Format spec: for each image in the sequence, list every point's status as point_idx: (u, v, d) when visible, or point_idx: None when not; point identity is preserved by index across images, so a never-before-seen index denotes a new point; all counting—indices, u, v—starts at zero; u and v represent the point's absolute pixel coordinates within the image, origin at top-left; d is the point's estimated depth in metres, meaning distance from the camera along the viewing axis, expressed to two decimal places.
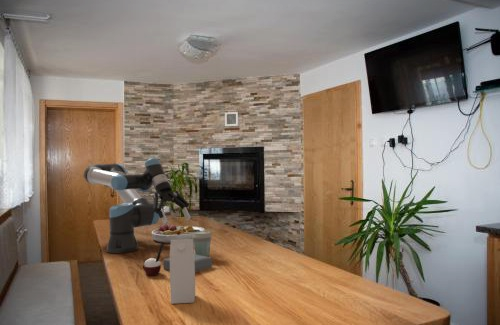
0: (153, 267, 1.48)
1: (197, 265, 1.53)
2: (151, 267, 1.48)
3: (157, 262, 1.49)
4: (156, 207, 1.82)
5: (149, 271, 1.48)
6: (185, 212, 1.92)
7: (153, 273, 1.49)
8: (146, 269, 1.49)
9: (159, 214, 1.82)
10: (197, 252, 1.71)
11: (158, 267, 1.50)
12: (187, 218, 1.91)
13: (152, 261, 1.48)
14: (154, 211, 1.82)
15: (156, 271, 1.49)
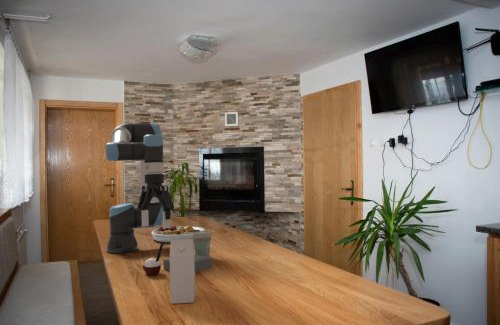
0: (153, 267, 1.48)
1: (197, 265, 1.53)
2: (151, 267, 1.48)
3: (157, 262, 1.49)
4: (138, 205, 1.58)
5: (149, 271, 1.48)
6: None
7: (153, 273, 1.49)
8: (146, 269, 1.49)
9: None
10: (197, 252, 1.71)
11: (158, 267, 1.50)
12: None
13: (152, 261, 1.48)
14: None
15: (156, 271, 1.49)
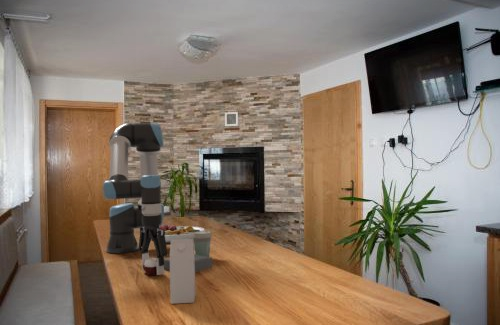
0: (153, 267, 1.48)
1: (197, 265, 1.53)
2: (151, 267, 1.48)
3: None
4: (139, 248, 1.55)
5: (149, 271, 1.48)
6: None
7: (153, 273, 1.49)
8: (146, 269, 1.49)
9: None
10: (197, 252, 1.71)
11: None
12: None
13: (152, 261, 1.48)
14: None
15: (156, 271, 1.49)
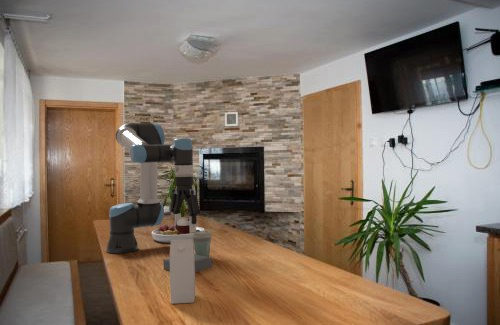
0: (186, 225, 1.55)
1: (197, 265, 1.53)
2: (184, 226, 1.55)
3: None
4: (171, 209, 1.62)
5: (182, 229, 1.55)
6: None
7: (186, 231, 1.56)
8: (179, 227, 1.56)
9: None
10: (197, 252, 1.71)
11: None
12: None
13: (185, 220, 1.56)
14: None
15: (188, 229, 1.56)
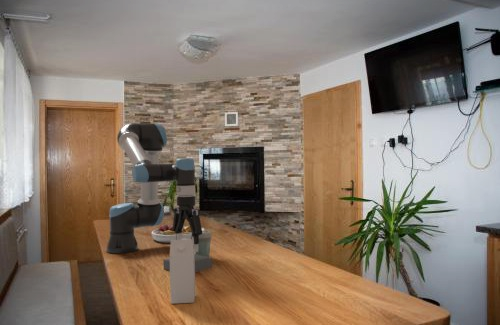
0: None
1: (197, 265, 1.53)
2: None
3: None
4: (173, 228, 1.63)
5: None
6: None
7: None
8: None
9: None
10: (197, 252, 1.71)
11: None
12: None
13: None
14: None
15: None
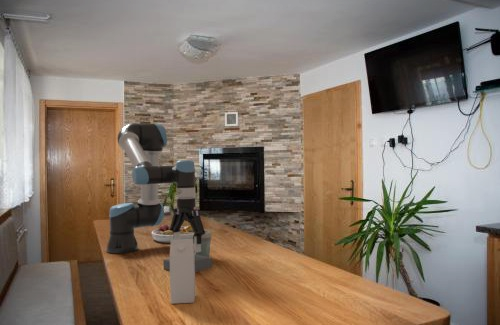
0: None
1: (197, 265, 1.53)
2: None
3: None
4: (171, 227, 1.64)
5: None
6: None
7: None
8: None
9: None
10: (197, 252, 1.71)
11: None
12: None
13: None
14: None
15: None
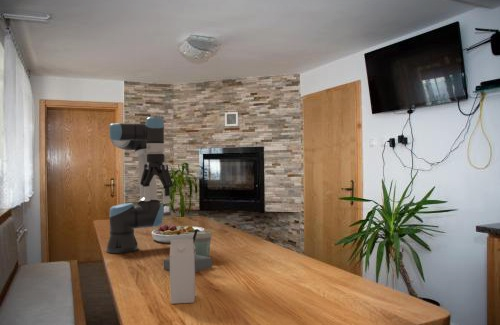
0: None
1: (197, 265, 1.53)
2: None
3: None
4: (141, 182, 1.72)
5: None
6: None
7: None
8: None
9: None
10: (197, 252, 1.71)
11: None
12: None
13: None
14: None
15: None
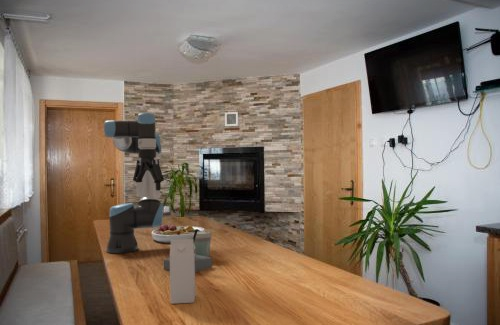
0: None
1: (197, 265, 1.53)
2: None
3: None
4: (134, 178, 1.74)
5: None
6: None
7: None
8: None
9: None
10: (197, 252, 1.71)
11: None
12: None
13: None
14: None
15: None
